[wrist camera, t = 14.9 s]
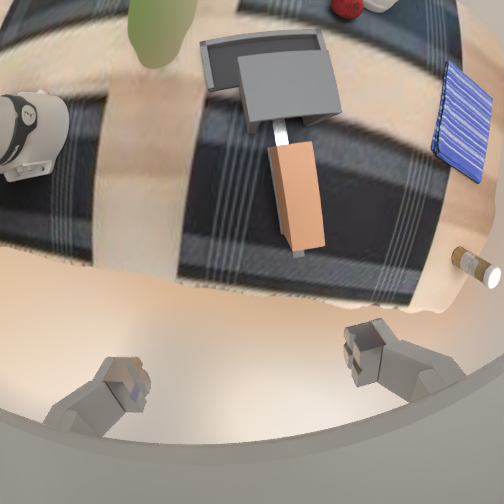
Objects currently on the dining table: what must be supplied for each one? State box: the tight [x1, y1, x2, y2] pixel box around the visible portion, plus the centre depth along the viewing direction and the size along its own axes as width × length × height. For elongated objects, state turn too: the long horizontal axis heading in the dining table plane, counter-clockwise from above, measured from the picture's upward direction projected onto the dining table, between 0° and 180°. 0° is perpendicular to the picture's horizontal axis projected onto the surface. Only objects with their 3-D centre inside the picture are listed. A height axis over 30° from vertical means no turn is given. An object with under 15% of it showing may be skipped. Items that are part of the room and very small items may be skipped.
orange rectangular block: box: [267, 141, 325, 251], centre depth 39 cm, size 5×14×10 cm, turn 10°
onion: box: [330, 0, 364, 19], centre depth 29 cm, size 6×6×8 cm
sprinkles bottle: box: [452, 247, 501, 289], centre depth 43 cm, size 5×5×14 cm
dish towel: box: [431, 60, 493, 184], centre depth 39 cm, size 17×24×3 cm
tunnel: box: [237, 50, 342, 134], centre depth 33 cm, size 10×8×15 cm
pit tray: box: [200, 29, 326, 92], centre depth 36 cm, size 20×9×2 cm, turn 100°
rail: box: [272, 119, 305, 258], centre depth 43 cm, size 2×30×1 cm, turn 10°
